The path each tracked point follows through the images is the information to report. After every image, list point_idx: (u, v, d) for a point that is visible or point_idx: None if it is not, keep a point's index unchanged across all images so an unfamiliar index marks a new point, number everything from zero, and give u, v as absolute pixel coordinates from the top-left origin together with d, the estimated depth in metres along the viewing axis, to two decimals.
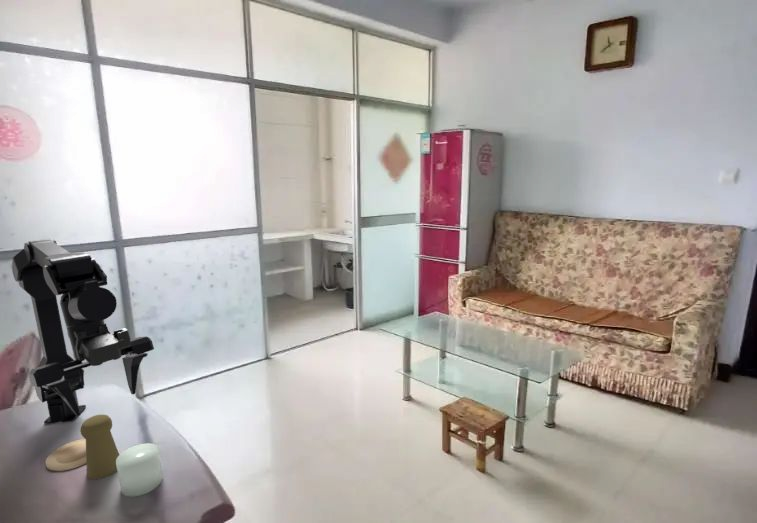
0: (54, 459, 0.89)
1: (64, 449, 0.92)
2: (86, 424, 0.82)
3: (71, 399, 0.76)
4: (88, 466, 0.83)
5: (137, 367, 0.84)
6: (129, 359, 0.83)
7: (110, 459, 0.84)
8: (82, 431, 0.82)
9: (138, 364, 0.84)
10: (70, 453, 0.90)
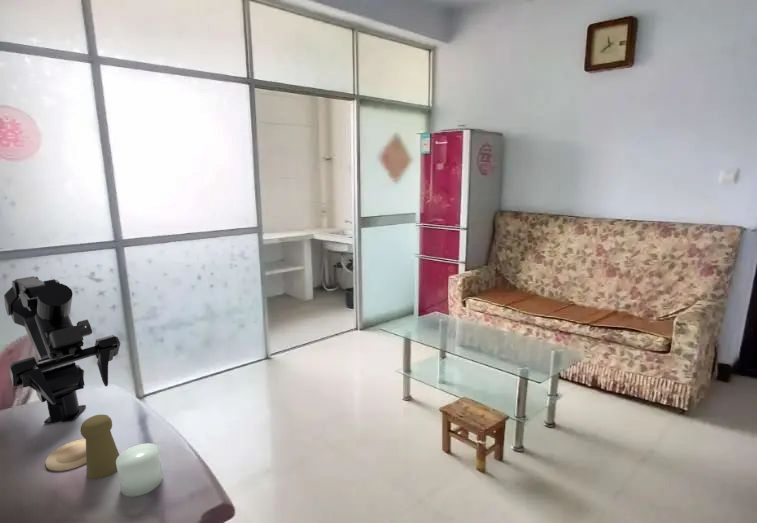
0: (54, 459, 0.89)
1: (64, 449, 0.92)
2: (86, 424, 0.82)
3: (46, 387, 0.85)
4: (88, 466, 0.83)
5: (107, 360, 0.94)
6: (99, 355, 0.94)
7: (110, 459, 0.84)
8: (82, 431, 0.82)
9: (107, 358, 0.94)
10: (70, 453, 0.90)
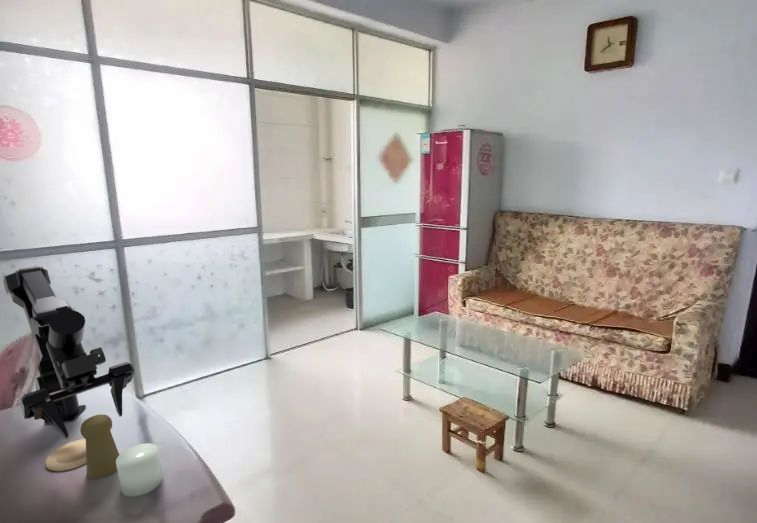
0: (54, 459, 0.89)
1: (64, 449, 0.92)
2: (86, 424, 0.82)
3: (59, 420, 0.82)
4: (88, 466, 0.83)
5: (121, 389, 0.90)
6: (112, 383, 0.90)
7: (110, 459, 0.84)
8: (82, 431, 0.82)
9: (121, 386, 0.90)
10: (70, 453, 0.90)
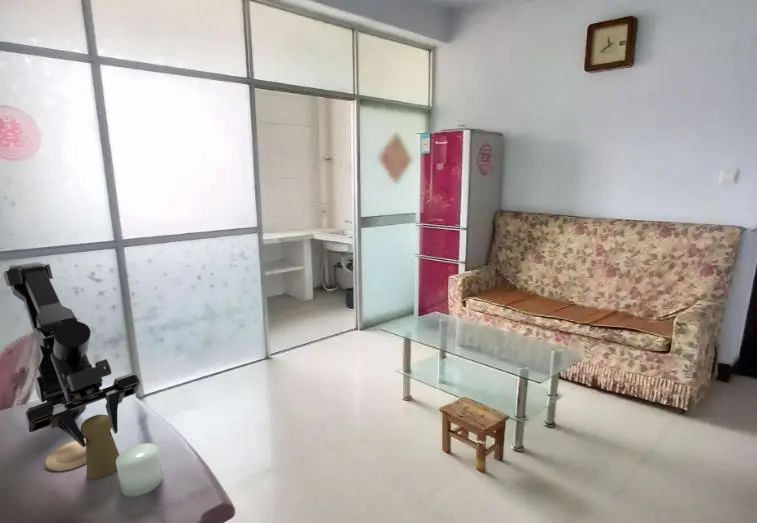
0: (54, 459, 0.89)
1: (64, 449, 0.92)
2: (86, 424, 0.82)
3: (76, 429, 0.82)
4: (88, 466, 0.83)
5: (116, 405, 0.87)
6: (107, 399, 0.88)
7: (110, 459, 0.84)
8: (82, 431, 0.82)
9: (116, 402, 0.88)
10: (70, 453, 0.90)
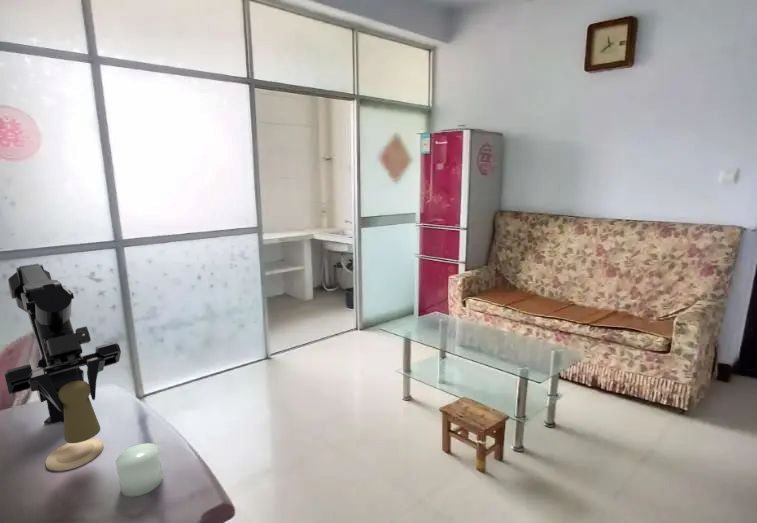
0: (54, 459, 0.89)
1: (64, 449, 0.92)
2: (64, 389, 0.83)
3: (53, 393, 0.83)
4: (65, 430, 0.85)
5: (95, 372, 0.88)
6: None
7: (87, 425, 0.85)
8: (59, 396, 0.83)
9: (96, 369, 0.88)
10: (70, 453, 0.90)
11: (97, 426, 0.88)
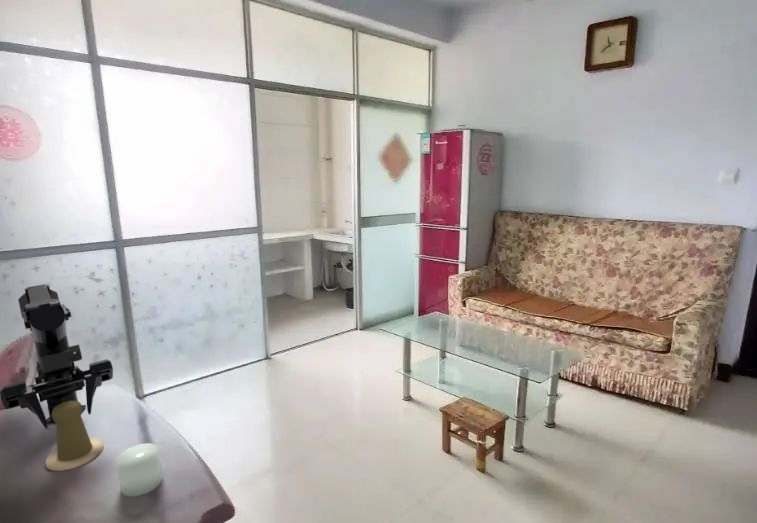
0: (54, 459, 0.89)
1: None
2: (56, 409, 0.87)
3: (40, 411, 0.86)
4: (58, 448, 0.88)
5: (92, 388, 0.92)
6: None
7: (78, 444, 0.89)
8: (52, 415, 0.87)
9: (93, 385, 0.92)
10: None
11: (88, 445, 0.91)
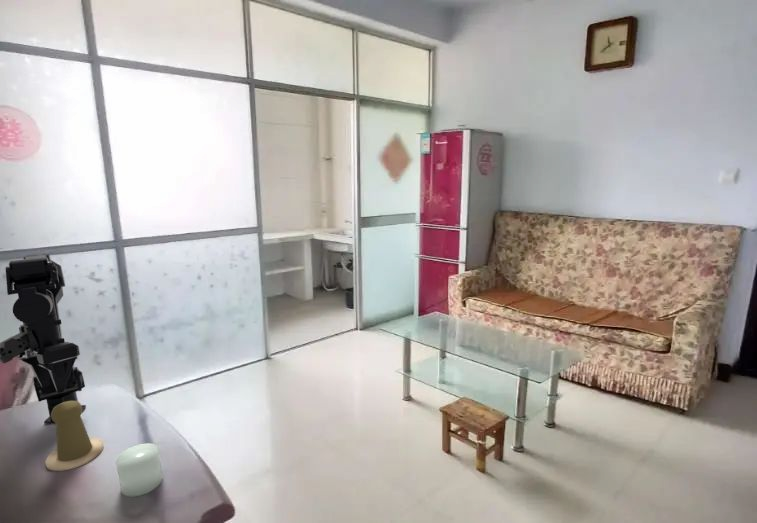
0: (54, 459, 0.89)
1: None
2: (56, 409, 0.87)
3: (36, 373, 0.94)
4: (58, 449, 0.88)
5: (51, 372, 0.87)
6: None
7: (78, 444, 0.89)
8: (52, 415, 0.87)
9: (50, 370, 0.87)
10: None
11: (88, 445, 0.91)
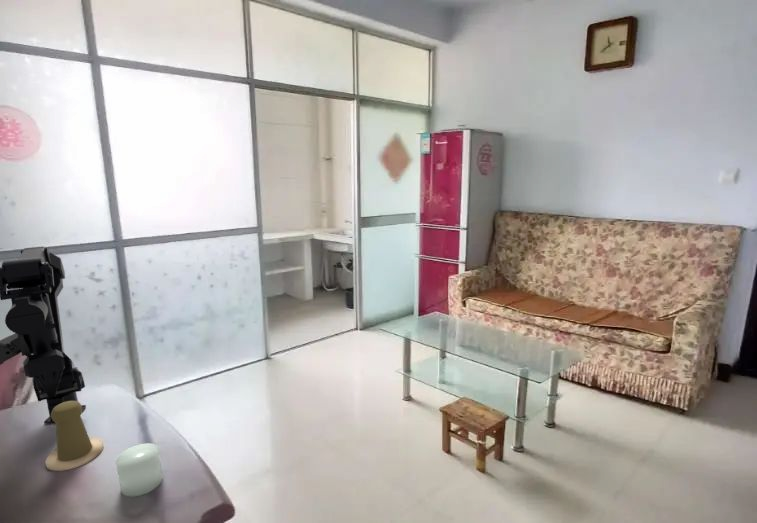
0: (54, 459, 0.89)
1: None
2: (56, 409, 0.87)
3: None
4: (58, 449, 0.88)
5: (38, 380, 0.86)
6: None
7: (78, 444, 0.89)
8: (52, 415, 0.87)
9: None
10: None
11: (88, 445, 0.91)
